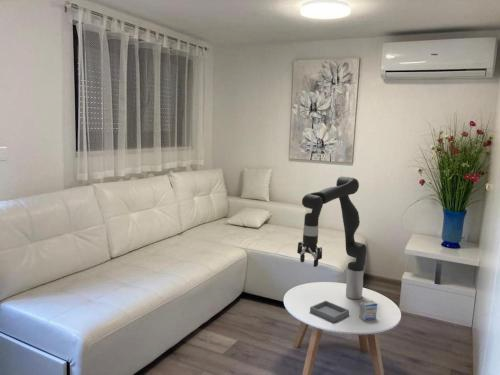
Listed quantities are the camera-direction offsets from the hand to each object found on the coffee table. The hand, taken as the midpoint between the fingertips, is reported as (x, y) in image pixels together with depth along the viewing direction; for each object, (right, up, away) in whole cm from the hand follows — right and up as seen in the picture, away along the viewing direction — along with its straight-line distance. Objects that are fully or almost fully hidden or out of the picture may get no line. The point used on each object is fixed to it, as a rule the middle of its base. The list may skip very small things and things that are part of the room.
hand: (308, 264), depth 207 cm
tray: (+12, -29, +10) cm, 33 cm away
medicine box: (+32, -30, +7) cm, 45 cm away
